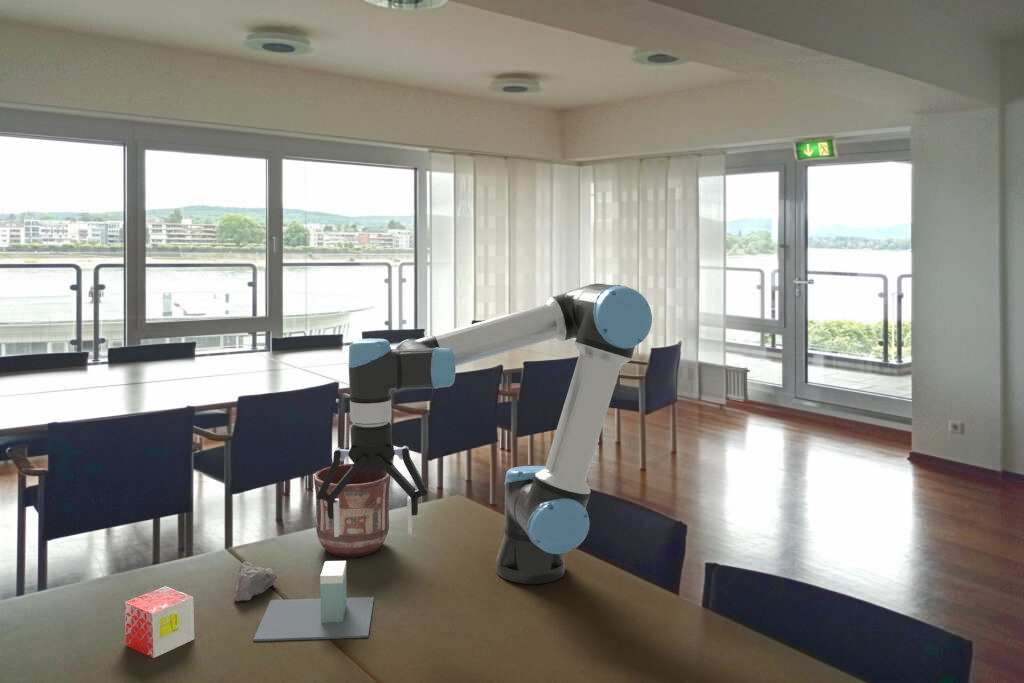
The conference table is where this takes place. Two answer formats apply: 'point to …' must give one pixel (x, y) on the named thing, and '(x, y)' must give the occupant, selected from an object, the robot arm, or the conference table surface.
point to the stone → (253, 581)
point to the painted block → (333, 591)
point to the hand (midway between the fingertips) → (373, 533)
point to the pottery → (354, 512)
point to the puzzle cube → (159, 621)
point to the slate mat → (313, 620)
